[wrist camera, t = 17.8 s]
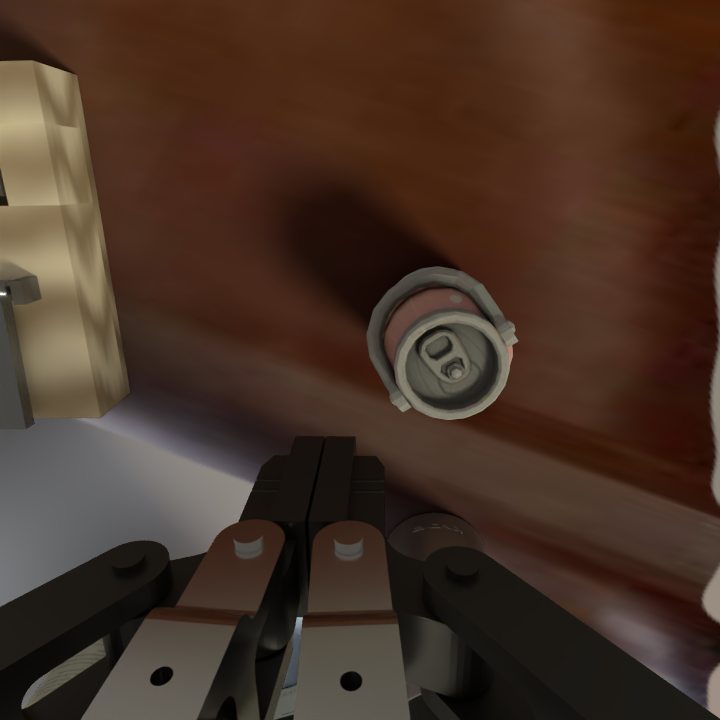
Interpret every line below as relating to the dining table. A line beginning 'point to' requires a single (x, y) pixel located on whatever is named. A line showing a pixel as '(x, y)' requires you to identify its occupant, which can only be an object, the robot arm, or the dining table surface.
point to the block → (56, 247)
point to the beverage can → (441, 344)
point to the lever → (12, 369)
